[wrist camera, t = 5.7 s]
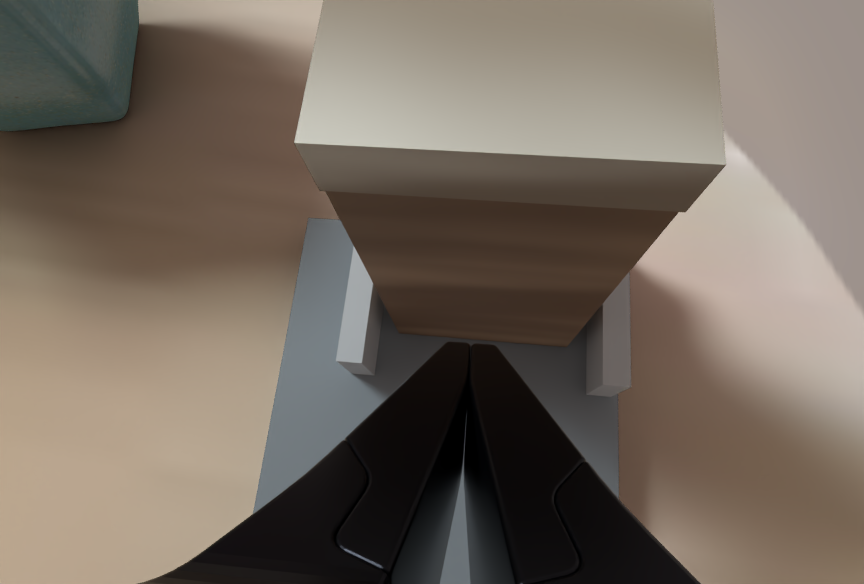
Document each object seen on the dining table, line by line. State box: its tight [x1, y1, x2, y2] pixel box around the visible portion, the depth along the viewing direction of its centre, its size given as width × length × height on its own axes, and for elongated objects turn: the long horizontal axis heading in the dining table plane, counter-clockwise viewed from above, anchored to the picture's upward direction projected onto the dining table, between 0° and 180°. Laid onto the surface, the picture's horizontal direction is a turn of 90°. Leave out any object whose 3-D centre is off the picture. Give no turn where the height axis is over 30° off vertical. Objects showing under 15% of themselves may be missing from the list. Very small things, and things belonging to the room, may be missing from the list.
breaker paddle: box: [294, 0, 726, 347], centre depth 12 cm, size 3×5×10 cm, turn 84°
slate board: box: [253, 218, 631, 584], centre depth 14 cm, size 17×10×3 cm, turn 174°
